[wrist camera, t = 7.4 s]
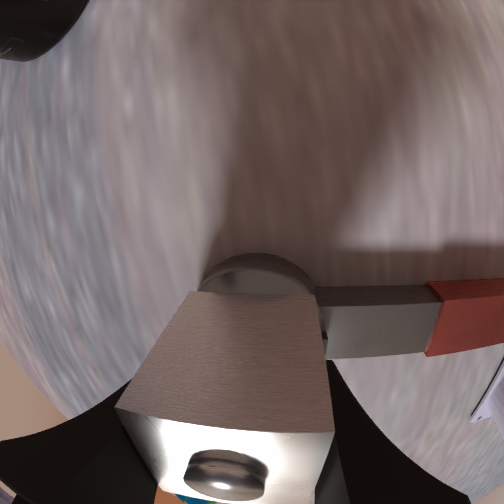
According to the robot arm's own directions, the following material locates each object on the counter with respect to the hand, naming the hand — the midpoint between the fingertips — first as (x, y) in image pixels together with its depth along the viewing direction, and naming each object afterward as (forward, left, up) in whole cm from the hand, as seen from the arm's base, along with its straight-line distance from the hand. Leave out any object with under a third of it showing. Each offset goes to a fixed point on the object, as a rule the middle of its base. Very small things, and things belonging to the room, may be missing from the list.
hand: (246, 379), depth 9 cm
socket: (0, 0, -2) cm, 2 cm away
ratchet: (-6, 0, -5) cm, 7 cm away
